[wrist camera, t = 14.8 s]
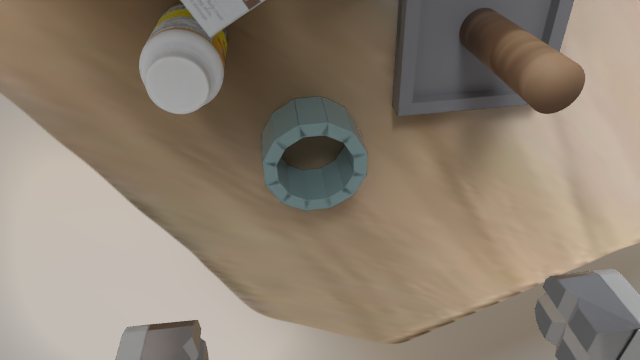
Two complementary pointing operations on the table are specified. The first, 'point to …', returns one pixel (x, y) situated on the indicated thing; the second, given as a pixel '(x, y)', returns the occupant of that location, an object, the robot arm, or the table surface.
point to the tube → (313, 184)
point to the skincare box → (218, 12)
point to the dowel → (522, 61)
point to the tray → (460, 53)
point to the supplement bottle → (182, 62)
